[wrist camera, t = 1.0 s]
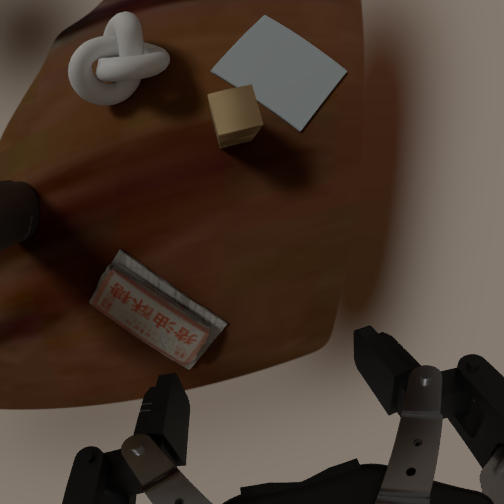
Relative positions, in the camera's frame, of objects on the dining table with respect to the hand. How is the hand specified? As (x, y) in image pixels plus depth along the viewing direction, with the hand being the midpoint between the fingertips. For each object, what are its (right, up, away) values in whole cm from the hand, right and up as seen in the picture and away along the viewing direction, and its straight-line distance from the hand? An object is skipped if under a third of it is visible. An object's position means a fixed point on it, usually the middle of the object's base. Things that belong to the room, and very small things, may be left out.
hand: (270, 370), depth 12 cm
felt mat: (+3, +29, +20) cm, 35 cm away
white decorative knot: (-18, +29, +18) cm, 38 cm away
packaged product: (-14, -3, +27) cm, 31 cm away
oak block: (-3, +20, +22) cm, 30 cm away
